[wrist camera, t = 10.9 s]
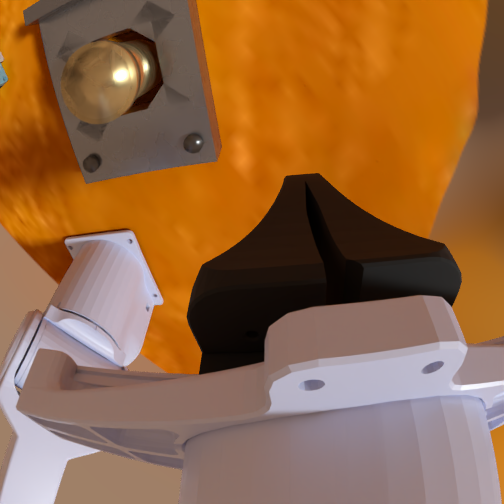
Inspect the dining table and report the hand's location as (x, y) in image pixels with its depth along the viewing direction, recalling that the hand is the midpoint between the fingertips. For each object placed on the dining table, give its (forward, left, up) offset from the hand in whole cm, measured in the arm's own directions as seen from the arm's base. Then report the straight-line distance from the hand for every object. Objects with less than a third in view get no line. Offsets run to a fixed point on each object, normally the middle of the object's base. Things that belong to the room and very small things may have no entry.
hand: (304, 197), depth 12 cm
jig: (+5, +10, -10) cm, 15 cm away
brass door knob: (+5, +9, -10) cm, 15 cm away
